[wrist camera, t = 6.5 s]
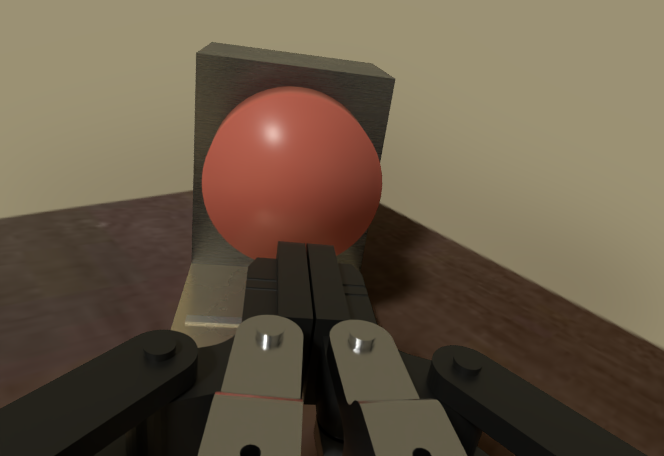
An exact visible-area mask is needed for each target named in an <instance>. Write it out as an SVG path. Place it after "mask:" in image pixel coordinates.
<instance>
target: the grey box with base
mask: <svg viewBox="0 0 664 456" xmlns="http://www.w3.org/2000/svg"><path fill="white" fill-rule="evenodd" d="M394 83H395V78H393V77H392V76H390V75H389V74H387V73H386V72H384V71H383V70H381V69H380V68H378V67H377V66H375V65H373V64H371V63H364V62H356V61H349V60H342V59H334V58H326V57H319V56H312V55H304V54H297V53H289V52H282V51H275V50H267V49H260V48H252V47H245V46H237V45H230V44H222V43H214V42H211V43H210V44H209V45H207V46H206V47H205V48H203V49H201V50H200V51H198V52H197V53H196V91H195V135H194V137H195V138H194V139H195V140H194V179H193V224H192V264H191V267H190V270H189V273H188V276H187V280H186V283H185V286H184V289H183V292H182V296H181V299H180V302H179V305H178V308H177V312H176V315H175V318H174V321H173V324H172V328H171V330H174V331H179V332H182V333H184V334H186V335H188V336H190V337H191V338H192V339H193V340H194V341H195V342H196V344H197V347H198V348H200V347H206V346H212V345H216V344H219V343H222V342H224V341H226V340H228V339H230V338H232V337H233V336H234V335H235V334H236V330H237V328H238V326H239V325H240V324H241V323H242V314H243V306H244V297H245V289H246V280H247V271H248V266H249V265H250V264H251V263H252V262H253V261H254V259H252V258H250V257H248V256H246V255H244V254H242V253H241V252H240V251H238V250H237V249H235V248H234V247H233V246H232V245H230V244H229V243H228V242H227V241H226V240H225V239H224V238H223V237H222V235H221V234H220V233H219V232H218V230H217V229H216V228H215V226H214V225H213V223H212V221H211V219H210V217H209V215H208V213H207V210H206V207H205V204H204V199H203V193H202V173H203V166H204V162H205V158H206V156H207V153H208V151H209V148H210V146H211V144H212V141H213V139H214V137H215V134H216V132H217V130H218V128H219V127H220V125H221V123H222V121H223V120H224V119H225V118H226V116H227V115H228V114H229V113H230V112H231V111H232V110H233V109H234V108H235V107H236V106H237V105H238V104H240V103H241V102H242V101H244V100H245V99H247V98H248V97H250V96H252V95H254V94H256V93H259V92H261V91H264V90H267V89H272V88H276V87H286V86H294V87H304V88H309V89H313V90H316V91H319V92H322V93H324V94H326V95H328V96H330V97H332V98H334V99H335V100H337V101H338V102H340V103H341V104H342V105H343V106H344V107H346V108H347V109H348V110H349V111H350V112H351V114H352V115H353V116H354V117H355V118H356V119H357V121H358V122H359V124H360V125H361V127H362V128H363V130H364V131H365V133H366V134H367V136H368V137H369V139H370V140H371V142H372V144H373V146H374V148H375V150H376V152H377V155H378V158H379V162H380V160H381V154H382V148H383V143H384V138H385V132H386V127H387V122H388V116H389V111H390V105H391V100H392V94H393V89H394ZM367 231H368V228H367V230H366V231H365V232H364V234H363V235H362V236H361V237H360V238H359V239H358V240H357V241H356V242H355V243H354V244H353V245H352V246H350V247H349V248H348V249H347V250H345V251H344V252H342V253H341V254H339V255H337V256H336V258H337V262H338V263H341V264H352V265H353V266H354V267H355V268H356V269H357V270H358V271H359V272H360V269H361V264H362V258H363V253H364V247H365V242H366V236H367ZM302 399H303V393H302ZM303 401H304V399H303Z"/></svg>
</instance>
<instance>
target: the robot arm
mask: <svg viewBox="0 0 664 456" xmlns="http://www.w3.org/2000/svg"><path fill="white" fill-rule="evenodd" d="M302 393H303V399H304V404H309V405H316V412H317V414H316V421H315V427H314V439H315V445H316V451H317V456H489V455H488V454H487V453H485V452H484V451H483V450H481V449H480V448H479V447H477V445H478V442H479V439H480V437H481V434H482V431H483V432H485V433H486V434H488V435H489V436H490V437H492V438H493V439H494V440H496V441H497V442H499V443H500V444H501V445H503V446H504V447H505V448H507V449H508V450H510V451H511V452H512V453H514V454H515V455H516V456H647V455H645V454H644V453H642V452H641V451H639V450H637V449H636V448H634V447H632V446H631V445H629V444H628V443H626V442H624V441H623V440H621V439H619V438H618V437H616V436H615V435H613V434H611V433H610V432H608V431H606V430H605V429H603V428H602V427H600V426H598V425H597V424H595V423H593V422H592V421H590V420H589V419H587V418H585V417H584V416H582V415H581V414H579V413H577V412H576V411H574V410H572V409H571V408H569V407H568V406H566V405H564V404H563V403H561V402H559V401H558V400H556V399H555V398H553V397H551V396H550V395H548V394H546V393H545V392H543V391H542V390H540V389H538V388H537V387H535V386H534V385H532V384H530V383H529V382H527V381H525V380H524V379H522V378H521V377H519V376H517V375H516V374H514V373H512V372H511V371H509V370H508V369H506V368H504V367H503V366H501V365H499V364H498V363H496V362H495V361H493V360H491V359H490V358H488V357H487V356H485V355H483V354H481V353H480V352H478V351H475V350H473V349H470V348H467V347H463V346H456V345H450V346H444V347H441V348H439V349H438V350H436V351H435V353H434V354H433V357H432V361H431V360H428V359H424V358H420V357H416V356H413V355H409V354H406V353H404V352H402V351H399V350H398V349H397V347H396V345H395V343H394V341H393V339H392V337H391V335H390V334H389V333H388V332H387V331H386V330H385V329H383V328H382V327H380V326H378V325H377V322H376V319H375V316H374V313H373V309H372V306H371V303H370V299H369V297H368V293H367V290H366V288H365V283H364V280H363V276H362V274H361V273H360V272H359V271H358V270H357V269H356V268H355V267H354V266H353V265H352V264H341V263H338V262H337V258H336V253H335V249H334V246H333V245H323V244H311V243H307V244H306V246H305V243H297V242H285V241H278V246H277V255H276V259H273V258H259V257H257V258H256V259H255V260H254V261H253V262H252V263H251V264H250V265H249V266H248V271H247V280H246V289H245V297H244V306H243V314H242V323H241V324H240V325H239V326H238V328H237V330H236V334H235V335H234V336H233V337H232V338H230V339H228V340H226V341H224V342H222V343H219V344H216V345H212V346H206V347H200V348H198V347H197V344H196V342H195V341H194V340H193V339H192V338H191V337H190V336H188V335H186V334H184V333H182V332H179V331H174V330H154V331H149V332H146V333H143V334H140V335H138V336H136V337H134V338H132V339H130V340H128V341H126V342H124V343H122V344H121V345H119V346H117V347H115V348H113V349H111V350H109V351H107V352H106V353H104V354H102V355H100V356H98V357H96V358H94V359H92V360H91V361H89V362H87V363H85V364H83V365H81V366H79V367H77V368H76V369H74V370H72V371H70V372H68V373H66V374H64V375H63V376H61V377H59V378H57V379H55V380H53V381H51V382H49V383H48V384H46V385H44V386H42V387H40V388H38V389H36V390H34V391H33V392H31V393H29V394H27V395H25V396H23V397H21V398H19V399H18V400H16V401H14V402H12V403H10V404H8V405H6V406H4V407H3V408H1V409H0V456H301V435H302V411H303V399H302Z"/></svg>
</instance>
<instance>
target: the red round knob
mask: <svg viewBox="0 0 664 456" xmlns="http://www.w3.org/2000/svg"><path fill="white" fill-rule="evenodd" d="M381 191H382V172H381V166H380V162H379V158H378V155H377V152H376V150H375V148H374V146H373V144H372V142H371V140H370V139H369V137H368V136H367V134H366V133H365V131H364V130H363V128H362V127H361V125H360V124H359V122H358V121H357V119H356V118H355V117H354V116H353V115H352V114H351V112H350V111H349V110H348V109H347V108H346V107H344V106H343V105H342V104H341V103H340V102H338V101H337V100H335V99H334V98H332V97H330V96H328V95H326V94H324V93H322V92H319V91H316V90H313V89H309V88H304V87H294V86H286V87H276V88H272V89H267V90H264V91H261V92H259V93H256V94H254V95H252V96H250V97H248V98H247V99H245V100H244V101H242V102H241V103H240V104H238V105H237V106H236V107H235V108H234V109H233V110H232V111H231V112H230V113H229V114H228V115H227V116H226V118H225V119H224V120H223V121H222V123H221V125H220V127H219V128H218V130H217V132H216V134H215V137H214V139H213V141H212V144H211V146H210V148H209V151H208V153H207V156H206V158H205V162H204V166H203V173H202V193H203V199H204V204H205V207H206V210H207V213H208V215H209V217H210V219H211V221H212V223H213V225H214V226H215V228H216V229H217V230H218V232H219V233H220V234H221V235H222V237H223V238H224V239H225V240H226V241H227V242H228V243H229V244H230V245H232V246H233V247H234V248H235V249H237V250H238V251H240V252H241V253H242V254H244V255H246V256H248V257H250V258H252V259H254V260H255V259H256V258H257V257H259V258H273V259H276V255H277V246H278V241H285V242H297V243H305V246H306V244H307V243H311V244H323V245H333V246H334V249H335V253H336V256H337V255H339V254H341V253H342V252H344V251H345V250H347V249H348V248H349V247H350V246H352V245H353V244H354V243H355V242H356V241H357V240H358V239H359V238H360V237H361V236H362V235H363V234H364V232H365V231H366V230H367V228H368V227H369V225H370V223H371V222H372V220H373V218H374V216H375V214H376V211H377V209H378V206H379V202H380V198H381Z"/></svg>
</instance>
